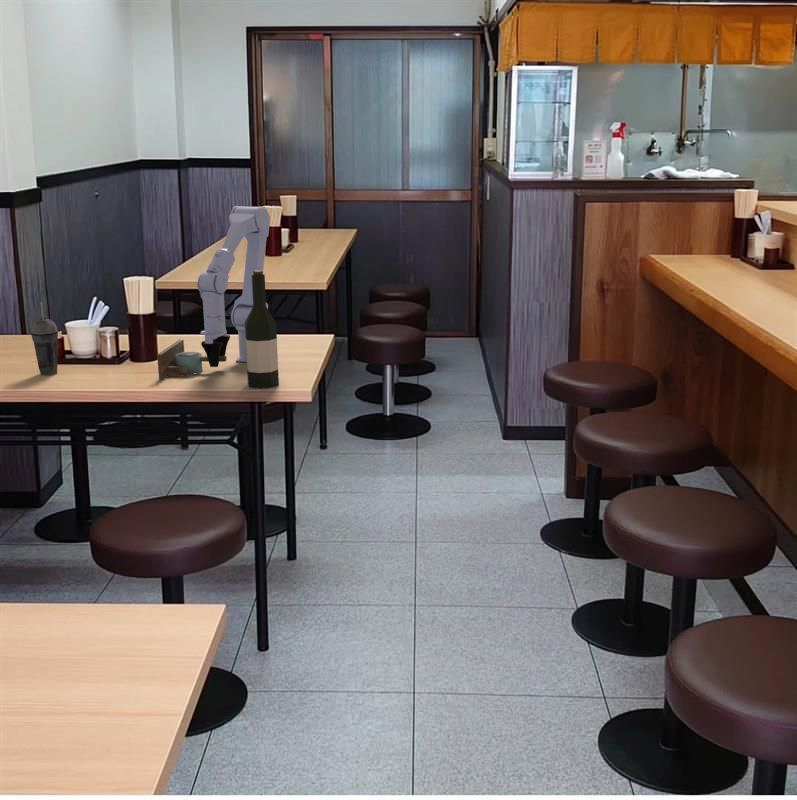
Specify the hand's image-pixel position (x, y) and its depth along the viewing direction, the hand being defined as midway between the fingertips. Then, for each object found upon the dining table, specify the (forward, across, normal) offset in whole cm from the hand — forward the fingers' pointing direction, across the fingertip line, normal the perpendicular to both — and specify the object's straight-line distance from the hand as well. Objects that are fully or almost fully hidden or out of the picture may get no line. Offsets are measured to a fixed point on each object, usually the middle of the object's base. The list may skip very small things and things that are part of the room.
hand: (217, 364), depth 280 cm
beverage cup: (+2, +4, -47) cm, 47 cm away
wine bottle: (+2, +14, +16) cm, 21 cm away
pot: (+2, 0, -5) cm, 5 cm away
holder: (+2, 0, -10) cm, 10 cm away
